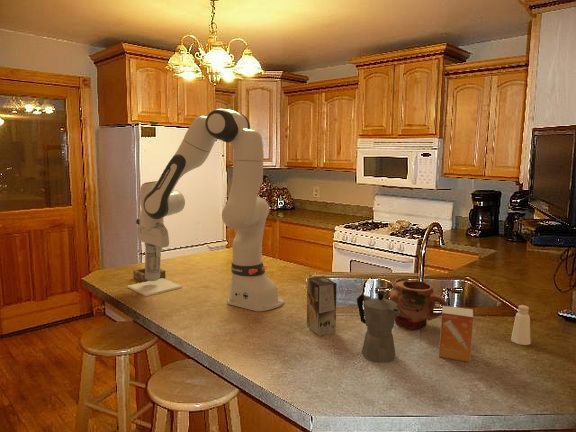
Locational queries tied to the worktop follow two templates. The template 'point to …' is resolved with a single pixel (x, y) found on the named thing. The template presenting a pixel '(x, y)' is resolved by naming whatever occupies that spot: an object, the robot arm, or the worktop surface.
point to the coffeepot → (378, 327)
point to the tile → (154, 287)
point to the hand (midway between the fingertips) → (153, 254)
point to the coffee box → (321, 305)
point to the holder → (141, 274)
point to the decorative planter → (415, 304)
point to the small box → (456, 333)
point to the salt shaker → (521, 326)
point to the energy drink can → (151, 263)
